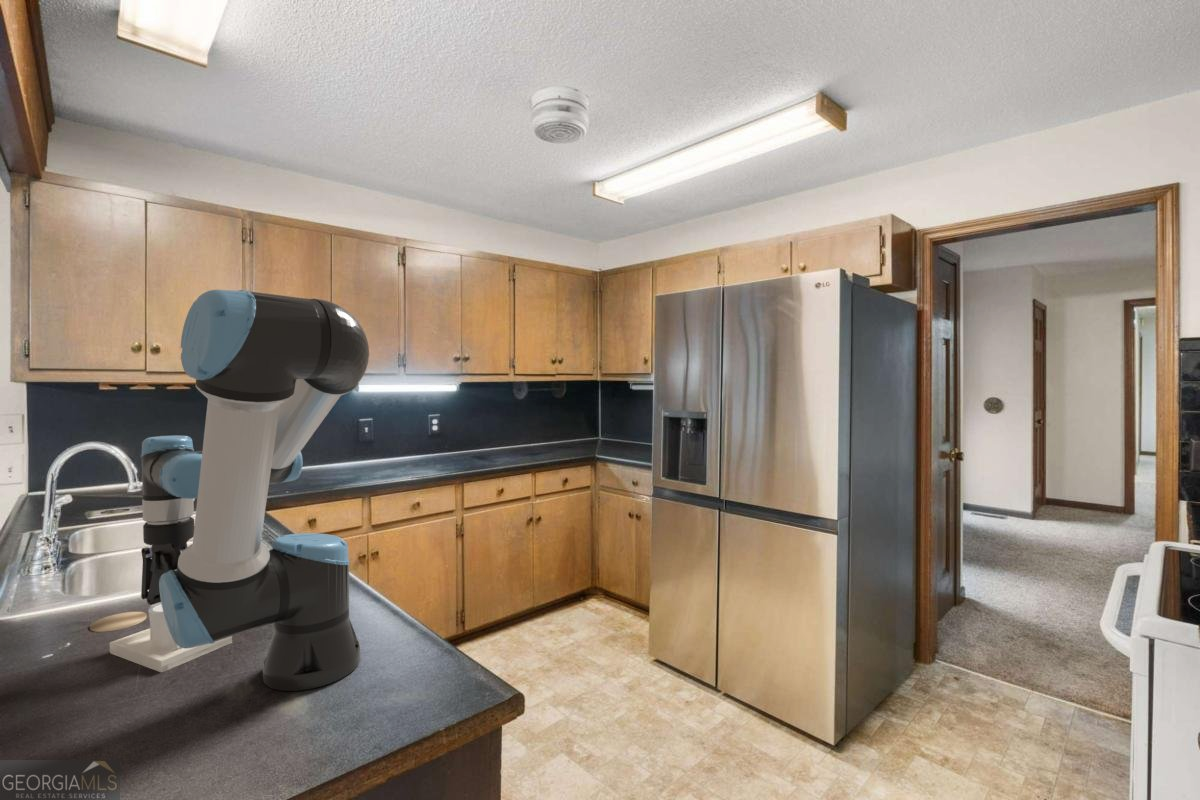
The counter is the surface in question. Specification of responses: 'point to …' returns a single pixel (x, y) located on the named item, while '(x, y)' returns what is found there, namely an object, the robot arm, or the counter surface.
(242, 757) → the counter surface
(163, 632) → the white cup
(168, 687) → the counter surface
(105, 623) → the cork coaster
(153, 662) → the tray
